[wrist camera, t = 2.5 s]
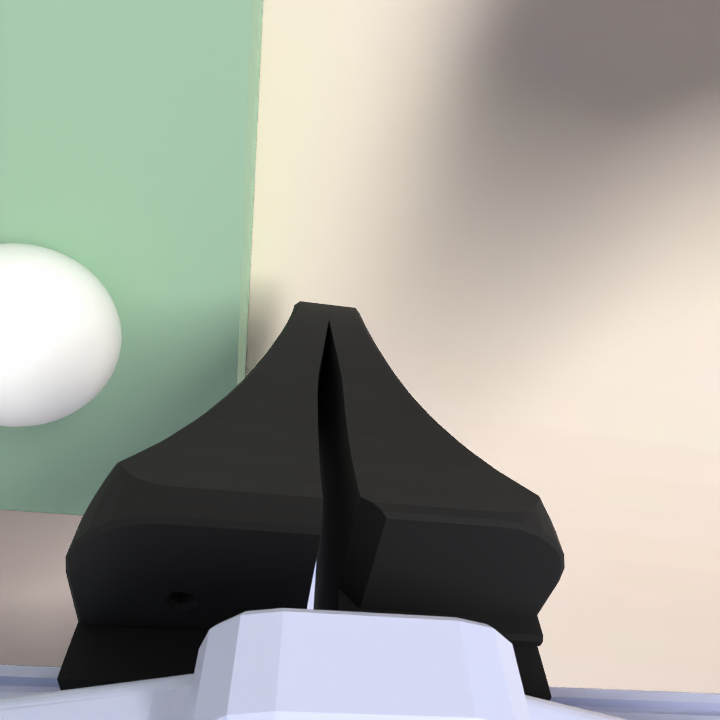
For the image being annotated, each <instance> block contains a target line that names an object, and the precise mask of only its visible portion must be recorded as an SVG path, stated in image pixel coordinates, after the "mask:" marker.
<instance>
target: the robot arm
mask: <svg viewBox="0 0 720 720" xmlns="http://www.w3.org/2000/svg"><path fill="white" fill-rule="evenodd" d="M563 570H564V553H563V551H562V548H561V545H560V542H559V540H558V537H557V534H556V531H555V529H554V527H553V524H552V522H551V519H550V517H549V515H548V513H547V511H546V509H545V507H544V505H543V503H542V501H541V499H540V497H539V496H538V495H536V494H535V493H533V492H531V491H530V490H528V489H526V488H525V487H523V486H522V485H520V484H518V483H517V482H515V481H513V480H512V479H510V478H508V477H507V476H505V475H504V474H502V473H500V472H499V471H497V470H496V469H494V468H493V467H492V466H490V465H489V464H487V463H486V462H485V461H483V460H482V459H480V458H479V457H478V456H476V455H475V454H474V453H472V452H471V451H470V450H468V449H467V448H466V447H465V446H463V445H462V444H461V443H460V442H458V441H457V440H456V439H455V438H454V437H453V436H452V435H450V434H449V433H448V432H447V431H446V430H445V429H444V428H442V427H441V426H440V425H439V424H438V423H437V422H436V421H435V420H434V419H433V418H432V417H431V416H430V415H429V414H428V413H427V412H426V411H425V410H424V409H423V408H422V407H421V406H420V405H419V404H418V402H417V401H416V400H415V399H414V398H413V397H412V396H411V395H410V393H409V392H408V391H407V390H406V388H405V387H404V386H403V384H402V383H401V382H400V380H399V379H398V378H397V376H396V375H395V374H394V372H393V371H392V369H391V368H390V366H389V365H388V363H387V362H386V360H385V359H384V357H383V356H382V354H381V352H380V351H379V349H378V348H377V346H376V344H375V343H374V341H373V339H372V337H371V335H370V334H369V332H368V330H367V328H366V326H365V324H364V322H363V320H362V318H361V316H360V314H359V312H358V311H357V310H356V308H351V307H342V306H334V305H326V304H318V303H309V302H301V301H300V302H299V303H297V304H296V305H294V309H293V312H292V314H291V316H290V318H289V320H288V322H287V324H286V326H285V327H284V329H283V331H282V332H281V334H280V335H279V336H278V338H277V339H276V341H275V342H274V344H273V345H272V347H271V348H270V349H269V351H268V352H267V353H266V354H265V356H264V357H263V358H262V359H261V360H260V361H259V363H258V364H257V365H256V366H255V367H254V369H253V370H252V371H251V372H250V373H249V374H248V375H247V376H246V377H245V378H244V379H243V380H242V381H241V382H240V383H239V384H238V385H237V386H236V387H235V388H234V389H233V390H232V391H231V392H230V393H229V394H228V395H226V396H225V397H224V398H223V399H222V400H220V401H219V402H218V403H217V404H215V405H214V406H213V407H212V408H211V409H209V410H208V411H207V412H205V413H204V414H203V415H201V416H200V417H199V418H197V419H196V420H194V421H193V422H191V423H190V424H188V425H187V426H185V427H184V428H182V429H180V430H179V431H177V432H176V433H174V434H173V435H171V436H170V437H168V438H166V439H165V440H163V441H161V442H159V443H157V444H155V445H153V446H151V447H149V448H147V449H145V450H143V451H141V452H139V453H137V454H135V455H133V456H131V457H129V458H126V459H124V460H122V461H120V462H118V463H117V464H116V465H115V466H114V468H113V469H112V470H111V472H110V473H109V475H108V476H107V477H106V479H105V480H104V482H103V483H102V485H101V486H100V488H99V490H98V491H97V493H96V494H95V496H94V498H93V499H92V501H91V502H90V504H89V506H88V508H87V509H86V511H85V513H84V515H83V517H82V520H81V522H80V524H79V527H78V529H77V531H76V534H75V536H74V538H73V541H72V543H71V545H70V548H69V550H68V553H67V555H66V574H67V578H68V582H69V586H70V590H71V594H72V598H73V602H74V606H75V610H76V614H77V618H78V624H77V627H76V629H75V632H74V635H73V637H72V640H71V643H70V645H69V648H68V651H67V653H66V656H65V659H64V661H63V664H62V667H43V666H18V665H0V720H720V694H716V693H691V692H667V691H642V690H617V689H592V688H567V687H549V686H548V682H547V679H546V675H545V672H544V668H543V665H542V661H541V658H540V654H539V651H538V647H537V646H540V645H541V643H542V642H543V634H542V630H541V627H540V624H539V620H538V617H537V614H538V613H539V611H540V610H541V608H542V607H543V605H544V604H545V602H546V600H547V599H548V597H549V596H550V594H551V593H552V591H553V590H554V588H555V587H556V585H557V583H558V582H559V580H560V577H561V575H562V573H563Z"/></svg>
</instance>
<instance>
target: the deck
mask: <svg viewBox="0 0 720 720" xmlns="http://www.w3.org/2000/svg"><path fill="white" fill-rule="evenodd" d="M262 14H263V0H0V244H4V243H19V244H31V245H36V246H41V247H45V248H48V249H51V250H54V251H57V252H59V253H62V254H64V255H66V256H68V257H70V258H72V259H74V260H75V261H77V262H78V263H80V264H82V265H83V266H84V267H85V268H87V269H88V270H89V271H90V272H91V273H92V274H93V275H94V276H96V277H97V279H98V280H99V281H100V282H101V283H102V284H103V286H104V287H105V288H106V290H107V291H108V293H109V294H110V296H111V298H112V300H113V302H114V304H115V307H116V309H117V312H118V315H119V319H120V324H121V335H122V342H121V349H120V355H119V359H118V362H117V365H116V367H115V370H114V372H113V374H112V376H111V377H110V379H109V381H108V382H107V384H106V385H105V387H104V388H103V389H102V390H101V391H100V392H99V393H98V395H97V396H96V397H95V398H94V399H92V400H91V401H90V402H89V403H88V404H86V405H85V406H83V407H82V408H81V409H79V410H77V411H76V412H74V413H72V414H70V415H68V416H66V417H64V418H61V419H59V420H56V421H52V422H49V423H45V424H41V425H35V426H23V427H7V426H0V510H13V511H28V512H42V513H57V514H71V515H84V513H85V511H86V509H87V508H88V506H89V504H90V502H91V501H92V499H93V498H94V496H95V494H96V493H97V491H98V490H99V488H100V486H101V485H102V483H103V482H104V480H105V479H106V477H107V476H108V475H109V473H110V472H111V470H112V469H113V468H114V466H115V465H116V464H117V463H118V462H120V461H122V460H124V459H126V458H129V457H131V456H133V455H135V454H137V453H139V452H141V451H143V450H145V449H147V448H149V447H151V446H153V445H155V444H157V443H159V442H161V441H163V440H165V439H166V438H168V437H170V436H171V435H173V434H174V433H176V432H177V431H179V430H180V429H182V428H184V427H185V426H187V425H188V424H190V423H191V422H193V421H194V420H196V419H197V418H199V417H200V416H201V415H203V414H204V413H205V412H207V411H208V410H209V409H211V408H212V407H213V406H214V405H215V404H217V403H218V402H219V401H220V400H222V399H223V398H224V397H225V396H226V395H228V394H229V393H230V392H231V391H232V390H233V389H234V388H235V387H236V386H237V385H238V384H239V383H240V382H241V381H242V380H243V379H244V378H245V370H246V349H247V328H248V307H249V286H250V265H251V244H252V223H253V202H254V181H255V161H256V140H257V119H258V98H259V77H260V56H261V35H262Z"/></svg>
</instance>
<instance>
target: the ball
mask: <svg viewBox="0 0 720 720" xmlns="http://www.w3.org/2000/svg"><path fill="white" fill-rule="evenodd" d="M121 342H122V335H121V324H120V319H119V315H118V312H117V309H116V307H115V304H114V302H113V300H112V298H111V296H110V294H109V293H108V291H107V290H106V288H105V287H104V286H103V284H102V283H101V282H100V281H99V280H98V279H97V277H96V276H94V275H93V274H92V273H91V272H90V271H89V270H88V269H87V268H85V267H84V266H83V265H82V264H80V263H78V262H77V261H75V260H74V259H72V258H70V257H68V256H66V255H64V254H62V253H59V252H57V251H54V250H51V249H48V248H45V247H41V246H36V245H31V244H19V243H4V244H0V426H7V427H23V426H35V425H41V424H45V423H49V422H52V421H56V420H59V419H61V418H64V417H66V416H68V415H70V414H72V413H74V412H76V411H77V410H79V409H81V408H82V407H83V406H85V405H86V404H88V403H89V402H90V401H91V400H92V399H94V398H95V397H96V396H97V395H98V393H99V392H100V391H101V390H102V389H103V388H104V387H105V385H106V384H107V382H108V381H109V379H110V377H111V376H112V374H113V372H114V370H115V367H116V365H117V362H118V359H119V355H120V349H121Z"/></svg>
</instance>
